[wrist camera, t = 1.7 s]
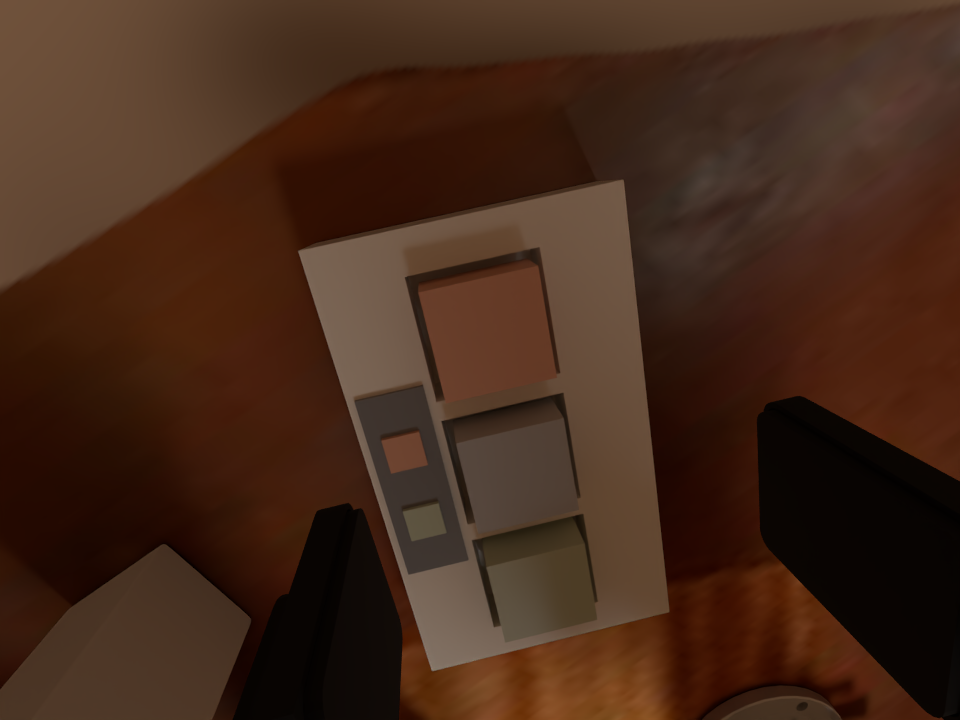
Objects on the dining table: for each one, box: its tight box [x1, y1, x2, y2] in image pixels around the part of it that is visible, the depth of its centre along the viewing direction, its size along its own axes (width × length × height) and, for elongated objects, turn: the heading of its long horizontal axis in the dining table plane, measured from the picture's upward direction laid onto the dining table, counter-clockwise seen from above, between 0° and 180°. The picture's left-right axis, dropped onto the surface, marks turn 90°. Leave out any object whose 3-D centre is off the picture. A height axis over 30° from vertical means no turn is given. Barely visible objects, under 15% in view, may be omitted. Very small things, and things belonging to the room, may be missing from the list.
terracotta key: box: [418, 258, 557, 403], centre depth 23 cm, size 5×5×2 cm
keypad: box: [298, 179, 669, 671], centre depth 27 cm, size 14×24×4 cm, turn 12°
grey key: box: [453, 397, 579, 534], centre depth 25 cm, size 5×5×2 cm
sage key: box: [482, 516, 597, 643], centre depth 27 cm, size 5×5×2 cm
